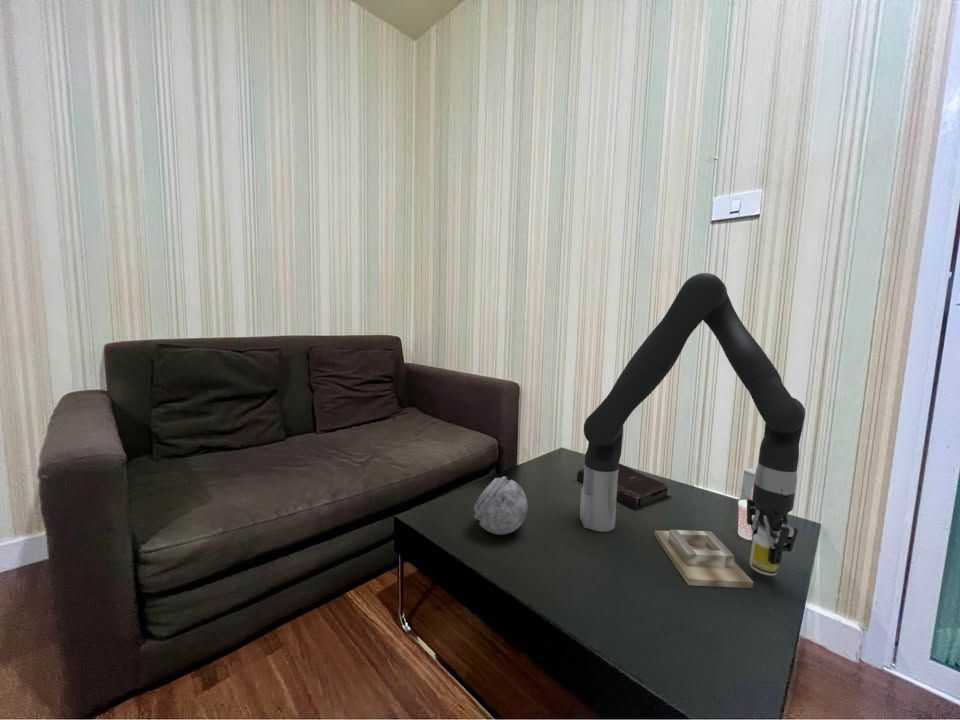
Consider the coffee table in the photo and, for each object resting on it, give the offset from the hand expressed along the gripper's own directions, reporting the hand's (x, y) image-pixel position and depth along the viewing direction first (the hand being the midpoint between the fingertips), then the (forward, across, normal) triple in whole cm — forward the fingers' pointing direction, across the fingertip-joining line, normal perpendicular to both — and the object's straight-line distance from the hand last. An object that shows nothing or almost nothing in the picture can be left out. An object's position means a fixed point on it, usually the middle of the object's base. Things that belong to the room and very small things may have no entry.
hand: (765, 554), depth 93 cm
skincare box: (+6, -34, +18) cm, 39 cm away
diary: (+7, -45, -18) cm, 49 cm away
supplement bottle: (+4, 0, 0) cm, 4 cm away
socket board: (+6, -6, -12) cm, 14 cm away
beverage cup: (+6, -18, +7) cm, 20 cm away
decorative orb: (+7, -15, -61) cm, 63 cm away
